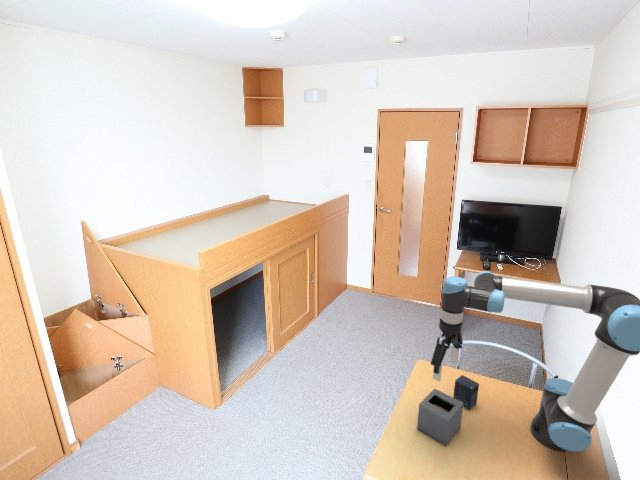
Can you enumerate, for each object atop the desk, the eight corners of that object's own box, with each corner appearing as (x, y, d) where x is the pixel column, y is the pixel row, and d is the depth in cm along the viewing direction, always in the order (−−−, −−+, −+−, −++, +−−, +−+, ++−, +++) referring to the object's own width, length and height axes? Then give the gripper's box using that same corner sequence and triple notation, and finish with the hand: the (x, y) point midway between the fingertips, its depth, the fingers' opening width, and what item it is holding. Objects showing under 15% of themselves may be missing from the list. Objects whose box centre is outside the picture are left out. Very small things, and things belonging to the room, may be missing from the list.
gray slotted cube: (460, 428, 150) (463, 403, 147) (445, 446, 142) (449, 420, 139) (432, 412, 158) (434, 388, 155) (416, 429, 150) (419, 403, 146)
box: (476, 404, 163) (479, 383, 160) (469, 410, 159) (472, 389, 156) (459, 394, 169) (462, 374, 165) (452, 400, 165) (455, 379, 162)
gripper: (456, 304, 147) (451, 352, 153) (423, 329, 130) (418, 382, 136) (476, 310, 142) (469, 360, 148) (444, 337, 125) (438, 392, 131)
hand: (445, 371), depth 142 cm, fingers open, 13 cm apart
